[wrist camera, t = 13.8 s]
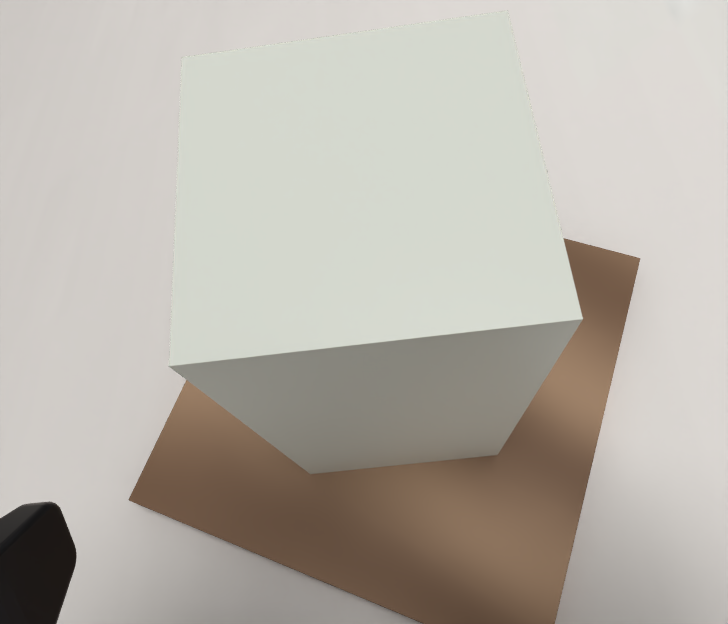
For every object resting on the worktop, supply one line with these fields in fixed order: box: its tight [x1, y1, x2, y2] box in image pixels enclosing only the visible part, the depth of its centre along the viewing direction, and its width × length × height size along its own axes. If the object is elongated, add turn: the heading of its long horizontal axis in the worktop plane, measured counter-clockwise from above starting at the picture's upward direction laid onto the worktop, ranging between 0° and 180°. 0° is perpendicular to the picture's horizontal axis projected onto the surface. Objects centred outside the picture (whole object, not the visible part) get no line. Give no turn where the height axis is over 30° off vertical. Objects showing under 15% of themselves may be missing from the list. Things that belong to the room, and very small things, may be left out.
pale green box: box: [169, 10, 583, 474], centre depth 16 cm, size 6×6×12 cm
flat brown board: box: [129, 238, 640, 624], centre depth 20 cm, size 14×14×5 cm
